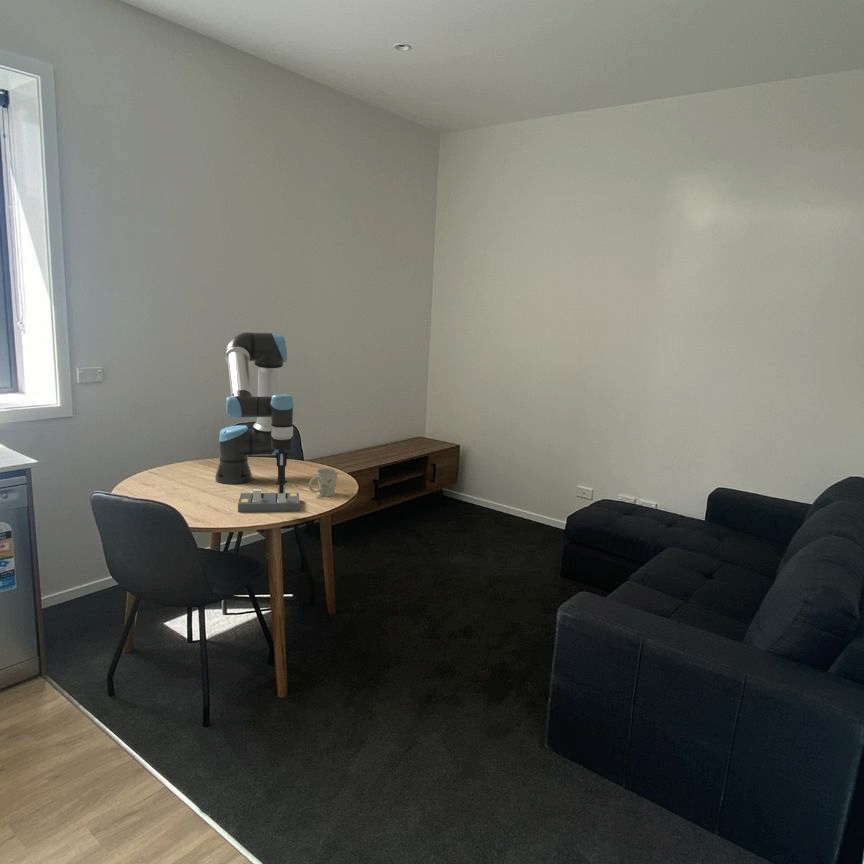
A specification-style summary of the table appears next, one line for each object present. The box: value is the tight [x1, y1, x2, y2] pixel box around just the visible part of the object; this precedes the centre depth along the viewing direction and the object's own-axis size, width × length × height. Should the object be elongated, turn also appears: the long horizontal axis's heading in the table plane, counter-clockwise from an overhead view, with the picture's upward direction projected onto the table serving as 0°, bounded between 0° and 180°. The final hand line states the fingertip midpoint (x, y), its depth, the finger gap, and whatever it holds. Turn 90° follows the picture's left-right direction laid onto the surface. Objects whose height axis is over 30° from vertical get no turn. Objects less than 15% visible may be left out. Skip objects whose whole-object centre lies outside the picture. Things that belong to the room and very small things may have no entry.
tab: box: [252, 488, 262, 503], centre depth 230 cm, size 4×3×6 cm
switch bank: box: [237, 492, 300, 513], centre depth 234 cm, size 14×22×3 cm, turn 102°
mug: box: [308, 468, 338, 498], centre depth 250 cm, size 8×13×10 cm, turn 133°
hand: (281, 501), depth 224 cm, fingers closed
